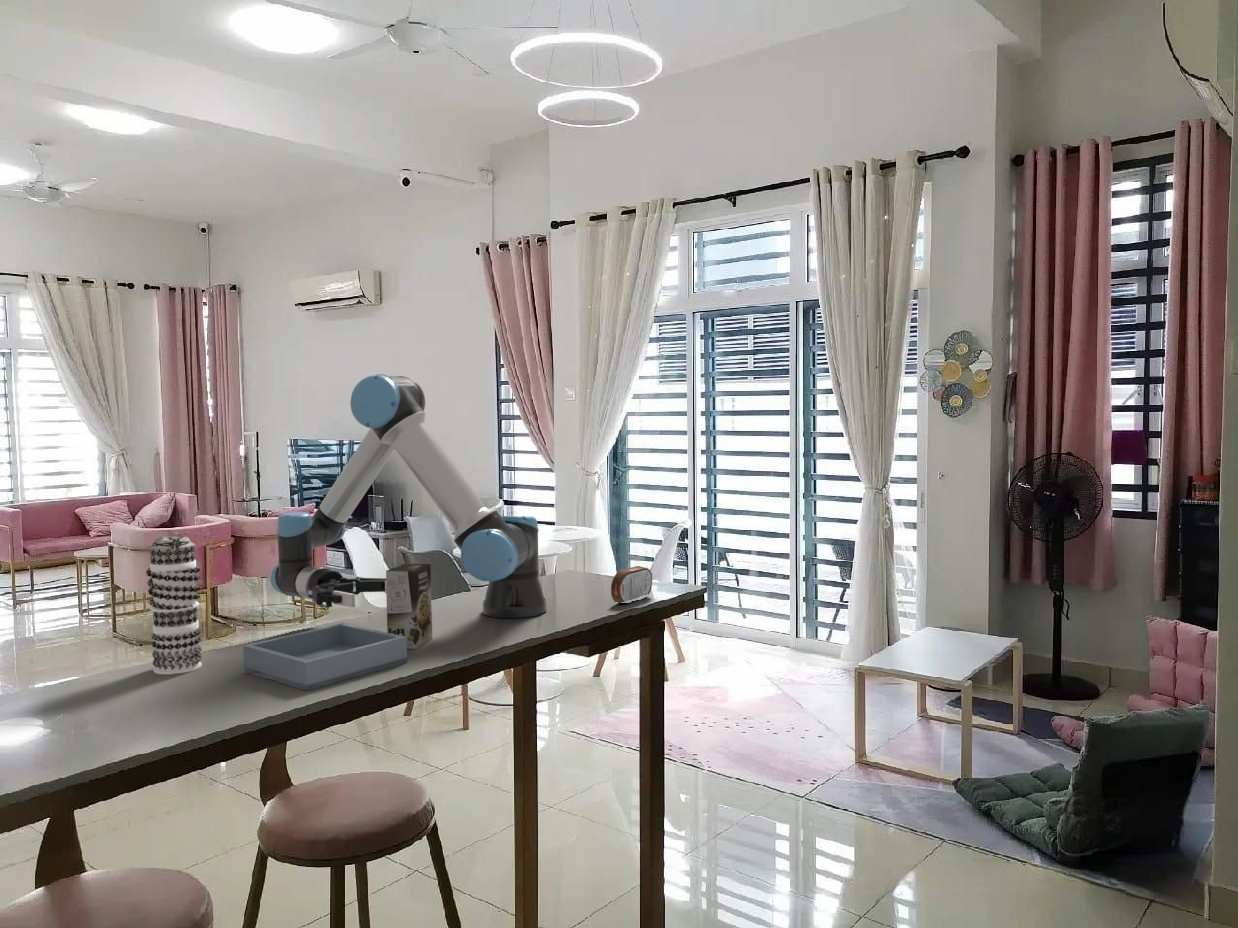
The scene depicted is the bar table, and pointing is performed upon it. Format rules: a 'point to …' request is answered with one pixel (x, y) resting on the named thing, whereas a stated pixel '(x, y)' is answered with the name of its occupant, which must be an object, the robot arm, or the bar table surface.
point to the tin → (631, 583)
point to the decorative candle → (174, 605)
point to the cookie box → (409, 603)
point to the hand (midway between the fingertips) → (380, 595)
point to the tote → (324, 655)
